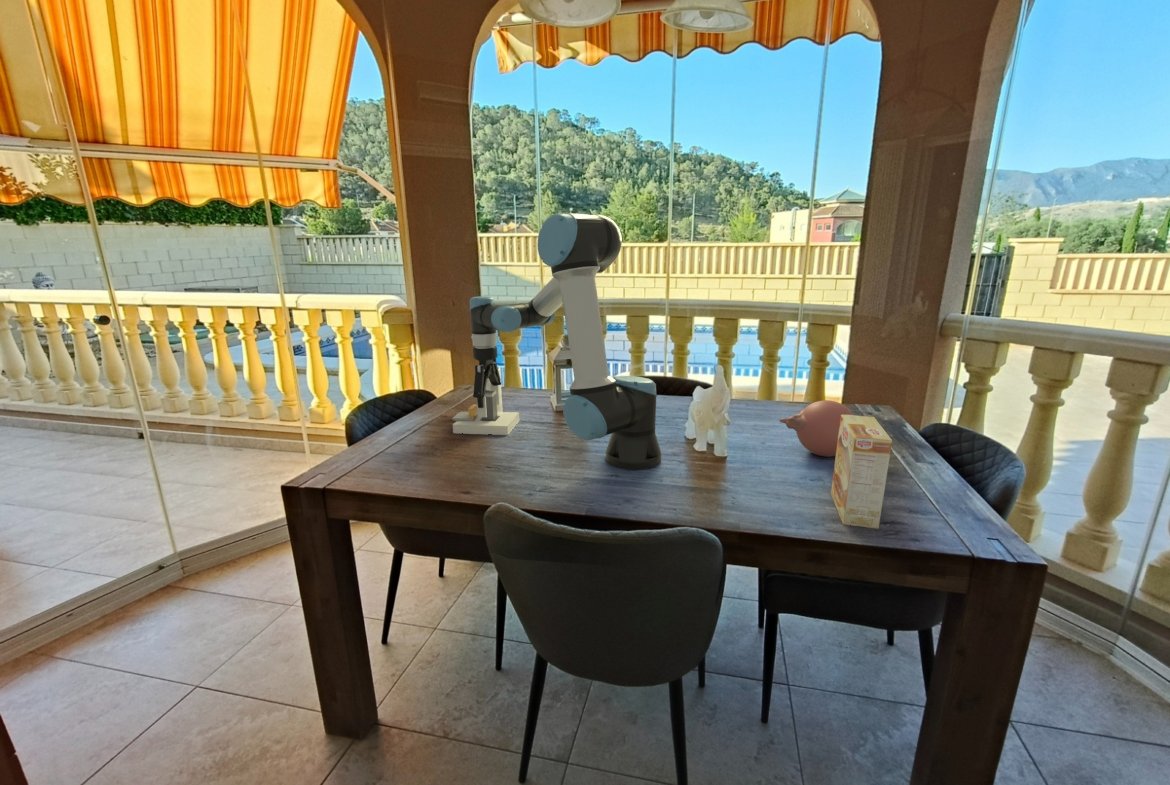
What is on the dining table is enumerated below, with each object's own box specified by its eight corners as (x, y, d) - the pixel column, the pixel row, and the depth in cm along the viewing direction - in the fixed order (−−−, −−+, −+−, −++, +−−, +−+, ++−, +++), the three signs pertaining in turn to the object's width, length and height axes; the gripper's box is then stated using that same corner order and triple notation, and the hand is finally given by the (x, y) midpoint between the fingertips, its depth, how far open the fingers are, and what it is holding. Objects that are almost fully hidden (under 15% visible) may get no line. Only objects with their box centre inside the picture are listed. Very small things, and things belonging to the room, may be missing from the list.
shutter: (480, 414, 169) (479, 403, 168) (473, 421, 163) (472, 409, 162) (460, 413, 170) (459, 403, 169) (452, 420, 164) (451, 409, 163)
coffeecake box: (829, 492, 118) (839, 413, 113) (863, 496, 116) (875, 416, 111) (841, 524, 104) (853, 436, 99) (879, 529, 102) (894, 439, 97)
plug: (498, 425, 168) (496, 390, 165) (494, 429, 164) (492, 393, 161) (486, 424, 169) (483, 390, 165) (482, 428, 165) (479, 393, 161)
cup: (483, 408, 187) (480, 365, 182) (505, 408, 186) (502, 366, 181) (476, 414, 179) (472, 371, 175) (498, 415, 178) (495, 371, 173)
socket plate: (519, 420, 172) (519, 412, 171) (508, 435, 159) (507, 426, 158) (468, 419, 174) (468, 411, 174) (453, 433, 161) (452, 424, 160)
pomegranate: (773, 441, 150) (777, 391, 146) (846, 446, 146) (852, 395, 142) (780, 461, 136) (785, 407, 132) (861, 467, 131) (869, 411, 127)
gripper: (486, 339, 171) (490, 399, 177) (458, 353, 148) (464, 422, 153) (507, 339, 170) (511, 399, 176) (483, 354, 147) (488, 423, 152)
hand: (489, 410), depth 165 cm, fingers open, 13 cm apart
